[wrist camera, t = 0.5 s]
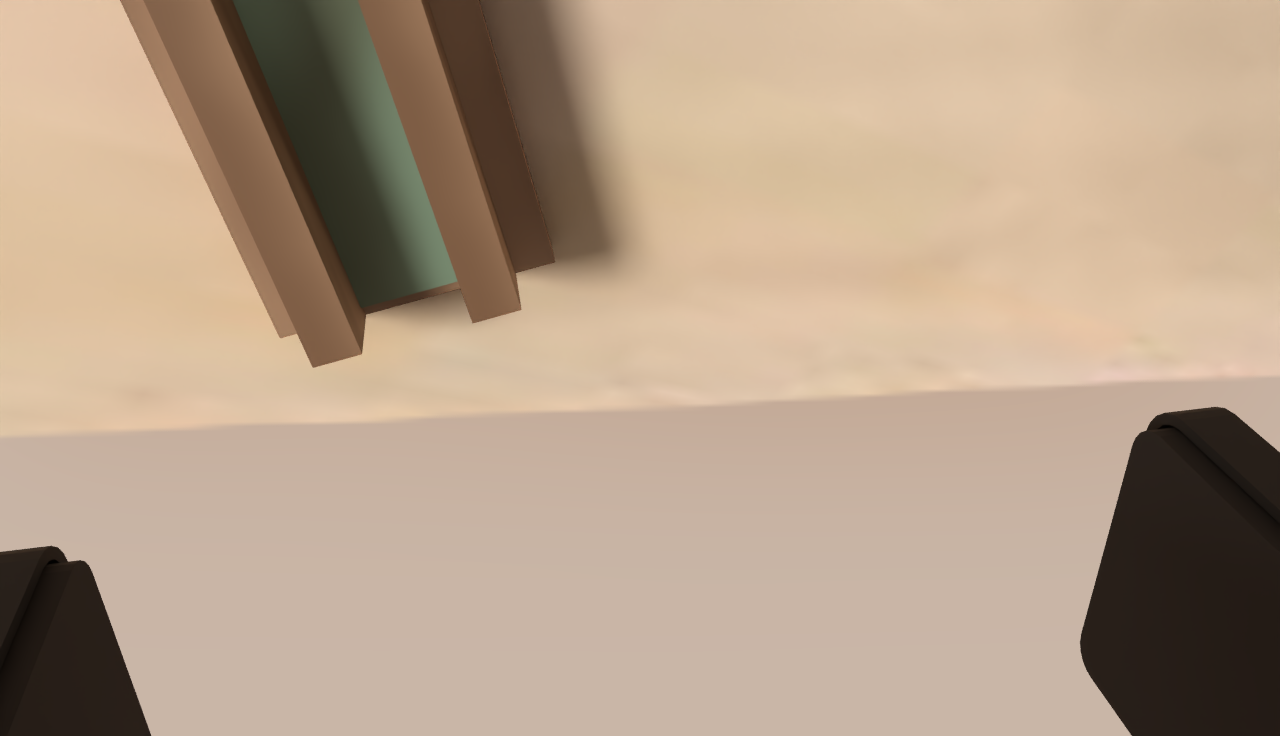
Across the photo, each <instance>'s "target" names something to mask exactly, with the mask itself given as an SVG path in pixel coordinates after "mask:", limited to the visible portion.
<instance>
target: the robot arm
mask: <svg viewBox="0 0 1280 736" xmlns="http://www.w3.org/2000/svg"><path fill="white" fill-rule="evenodd" d="M1080 646H1081V654H1082V659H1083V662H1084V665H1085V667H1086V670H1087V672H1088V673H1089V675H1090V677H1091V678H1092V679H1093V681H1094V682H1095V684H1096V685H1097V687H1098V688H1099V690H1100V691H1101V692H1102V694H1103V695H1104V697H1105V698H1106V700H1107V701H1108V702H1109V704H1110V705H1111V707H1112V708H1113V709H1114V711H1115V712H1116V714H1117V715H1118V717H1119V718H1120V719H1121V721H1122V722H1123V724H1124V725H1125V727H1126V728H1127V729H1128V731H1129V732H1130V733H1131V735H1132V736H1280V452H1278V451H1277V450H1276V449H1275V448H1274V447H1273V446H1271V445H1270V444H1269V443H1268V442H1267V441H1266V440H1264V439H1263V438H1262V437H1261V436H1260V435H1259V434H1257V433H1256V432H1255V431H1254V430H1253V429H1251V428H1250V427H1249V426H1248V425H1247V424H1245V423H1244V422H1243V421H1242V420H1241V419H1240V418H1239V417H1237V416H1236V415H1235V414H1233V413H1232V412H1230V411H1229V410H1227V409H1225V408H1219V407H1211V408H1203V409H1194V410H1186V411H1177V412H1169V413H1163V414H1161V415H1157V416H1156V417H1155V418H1154V419H1153V420H1152V421H1151V422H1150V424H1149V426H1148V428H1147V431H1144V432H1141V433H1140V434H1139V435H1138V436H1137V437H1136V438H1135V441H1134V443H1133V446H1132V449H1131V453H1130V457H1129V460H1128V464H1127V467H1126V471H1125V475H1124V479H1123V482H1122V486H1121V490H1120V494H1119V497H1118V501H1117V504H1116V508H1115V512H1114V516H1113V519H1112V523H1111V527H1110V530H1109V534H1108V538H1107V541H1106V545H1105V549H1104V552H1103V556H1102V560H1101V564H1100V567H1099V571H1098V575H1097V578H1096V582H1095V586H1094V589H1093V593H1092V597H1091V600H1090V604H1089V608H1088V611H1087V615H1086V619H1085V622H1084V626H1083V630H1082V634H1081V640H1080ZM0 736H151V734H150V731H149V728H148V725H147V723H146V720H145V717H144V714H143V712H142V709H141V706H140V703H139V700H138V698H137V695H136V692H135V689H134V687H133V684H132V681H131V678H130V676H129V673H128V670H127V668H126V665H125V662H124V659H123V656H122V654H121V651H120V648H119V645H118V642H117V639H116V637H115V634H114V631H113V628H112V626H111V623H110V620H109V617H108V615H107V612H106V609H105V606H104V603H103V601H102V598H101V595H100V592H99V590H98V587H97V584H96V581H95V579H94V576H93V573H92V571H91V569H90V567H89V565H88V564H87V563H86V562H85V561H81V560H79V561H71V562H68V561H67V559H66V557H65V555H64V553H63V552H62V551H61V550H60V549H59V548H58V547H53V546H47V547H38V548H30V549H22V550H14V551H6V552H0Z"/></svg>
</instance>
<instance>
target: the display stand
mask: <svg viewBox="0 0 1280 736" xmlns="http://www.w3.org/2000/svg"><path fill="white" fill-rule="evenodd" d="M120 1H121V3H122V5H123V7H124V9H125V12H126V14H127V16H128V18H129V20H130V22H131V24H132V26H133V28H134V31H135V33H136V35H137V37H138V39H139V41H140V43H141V45H142V48H143V50H144V52H145V54H146V56H147V58H148V60H149V62H150V64H151V67H152V69H153V71H154V73H155V75H156V77H157V79H158V81H159V83H160V86H161V88H162V90H163V92H164V94H165V96H166V98H167V100H168V103H169V105H170V107H171V109H172V111H173V113H174V115H175V117H176V119H177V122H178V124H179V126H180V128H181V130H182V132H183V134H184V136H185V138H186V141H187V143H188V145H189V147H190V149H191V151H192V153H193V155H194V158H195V160H196V162H197V164H198V166H199V168H200V170H201V172H202V174H203V177H204V179H205V181H206V183H207V185H208V187H209V189H210V191H211V193H212V196H213V198H214V200H215V202H216V204H217V206H218V208H219V210H220V213H221V215H222V217H223V219H224V221H225V223H226V225H227V227H228V229H229V232H230V234H231V236H232V238H233V240H234V242H235V244H236V246H237V248H238V251H239V253H240V255H241V257H242V259H243V261H244V263H245V265H246V268H247V270H248V272H249V274H250V276H251V278H252V280H253V282H254V284H255V287H256V289H257V291H258V293H259V295H260V297H261V299H262V301H263V303H264V306H265V308H266V310H267V312H268V314H269V316H270V318H271V320H272V323H273V325H274V327H275V329H276V331H277V333H278V335H279V337H280V338H283V337H287V336H290V335H294V334H298V337H299V339H300V341H301V343H302V345H303V347H304V350H305V352H306V354H307V356H308V358H309V360H310V363H311V365H312V367H313V368H314V367H318V366H321V365H325V364H328V363H332V362H336V361H339V360H343V359H346V358H350V357H353V356H357V355H361V354H362V349H363V339H364V329H365V319H366V314H370V313H373V312H377V311H380V310H384V309H388V308H391V307H395V306H398V305H402V304H406V303H409V302H413V301H417V300H420V299H424V298H427V297H431V296H435V295H438V294H442V293H445V292H449V291H453V290H456V289H461V292H462V295H463V297H464V300H465V303H466V306H467V309H468V312H469V314H470V317H471V320H472V323H476V322H479V321H483V320H486V319H490V318H494V317H497V316H501V315H504V314H508V313H512V312H515V311H519V310H521V304H520V298H519V291H518V285H517V278H516V273H517V272H521V271H525V270H528V269H532V268H536V267H539V266H543V265H546V264H550V263H554V262H555V259H554V254H553V250H552V246H551V242H550V239H549V236H548V232H547V229H546V226H545V222H544V219H543V215H542V212H541V209H540V205H539V202H538V198H537V195H536V192H535V188H534V185H533V182H532V178H531V175H530V171H529V168H528V165H527V161H526V158H525V155H524V151H523V148H522V144H521V141H520V138H519V134H518V131H517V127H516V124H515V121H514V117H513V114H512V111H511V107H510V104H509V100H508V97H507V94H506V90H505V87H504V84H503V80H502V77H501V73H500V70H499V67H498V63H497V60H496V56H495V53H494V50H493V46H492V43H491V40H490V36H489V33H488V29H487V26H486V23H485V19H484V16H483V13H482V9H481V6H480V2H479V0H120Z"/></svg>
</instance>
